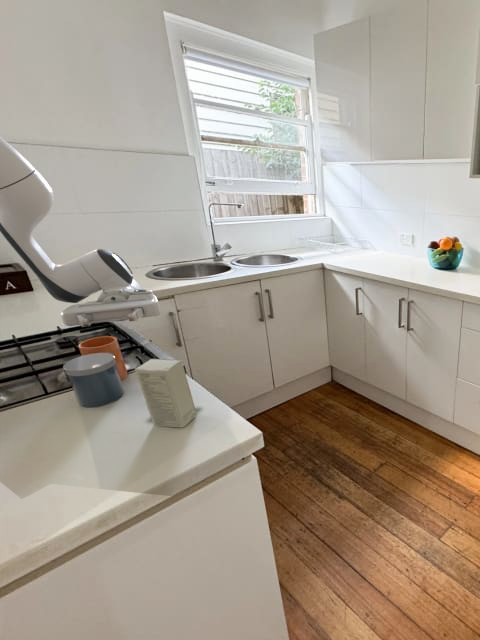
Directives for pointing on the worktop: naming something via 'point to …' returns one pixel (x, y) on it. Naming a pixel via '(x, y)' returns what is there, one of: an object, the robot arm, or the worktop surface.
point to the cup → (105, 351)
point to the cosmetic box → (166, 392)
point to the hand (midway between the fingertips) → (108, 320)
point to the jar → (94, 379)
